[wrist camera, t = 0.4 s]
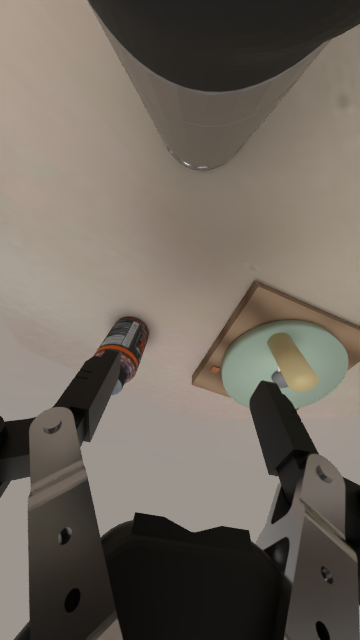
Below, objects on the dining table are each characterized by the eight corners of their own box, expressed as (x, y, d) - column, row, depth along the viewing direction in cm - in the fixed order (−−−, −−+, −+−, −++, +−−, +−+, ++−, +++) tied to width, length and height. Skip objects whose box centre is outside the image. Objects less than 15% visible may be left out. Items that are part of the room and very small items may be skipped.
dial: (334, 393, 34) (375, 450, 26) (231, 406, 38) (240, 459, 30) (345, 306, 25) (411, 352, 17) (209, 335, 29) (214, 383, 21)
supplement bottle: (150, 345, 34) (132, 403, 24) (117, 343, 34) (86, 399, 24) (148, 316, 31) (127, 369, 21) (112, 314, 31) (74, 365, 21)
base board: (254, 280, 26) (259, 287, 24) (373, 333, 29) (386, 342, 27) (192, 376, 37) (191, 386, 35) (284, 407, 40) (288, 418, 38)
